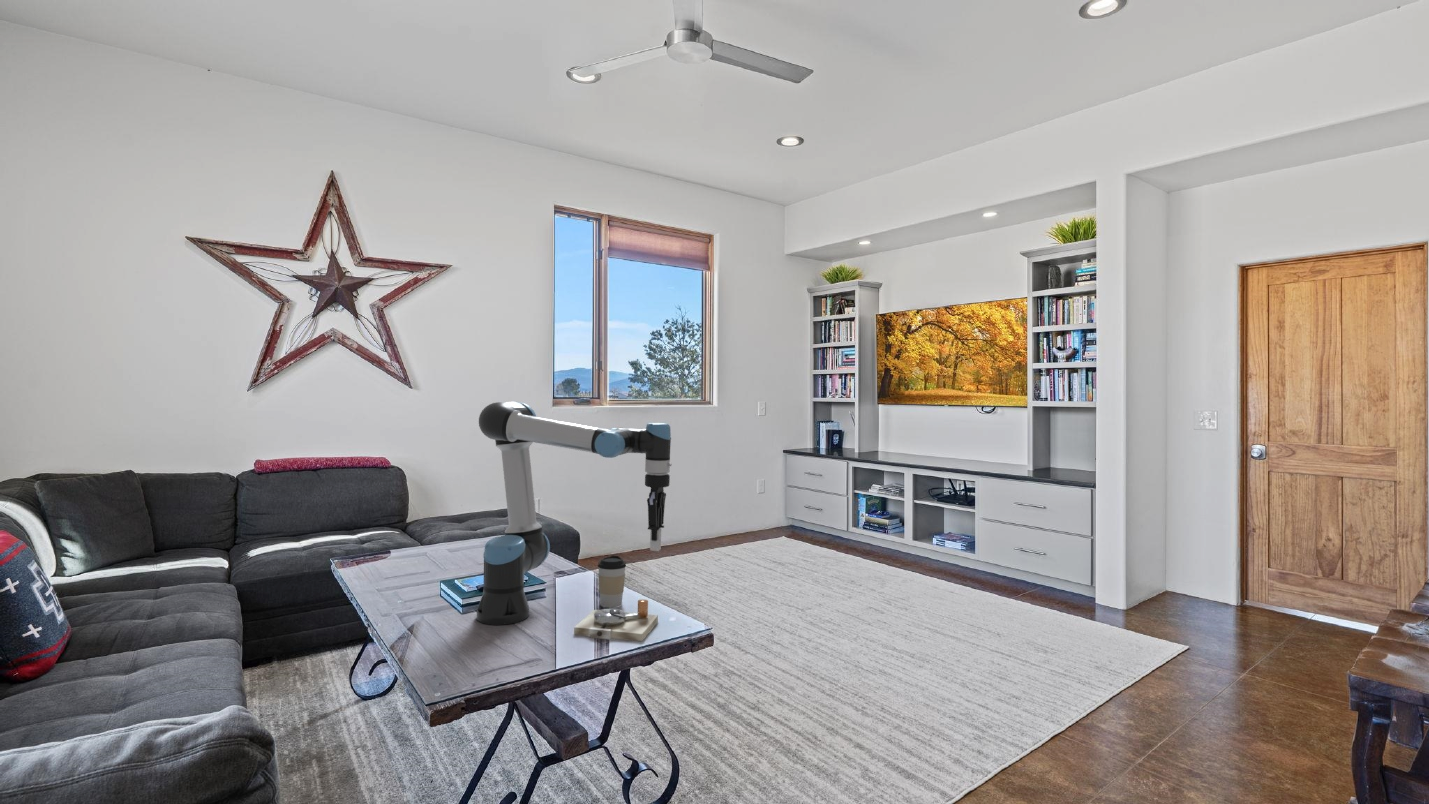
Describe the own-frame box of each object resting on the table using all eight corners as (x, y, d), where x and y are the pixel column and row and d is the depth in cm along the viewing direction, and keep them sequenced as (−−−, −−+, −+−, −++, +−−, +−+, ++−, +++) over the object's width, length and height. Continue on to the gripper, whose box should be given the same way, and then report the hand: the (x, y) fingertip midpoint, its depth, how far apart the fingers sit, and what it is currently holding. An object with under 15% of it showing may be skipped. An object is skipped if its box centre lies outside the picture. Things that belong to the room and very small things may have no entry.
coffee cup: (619, 609, 215) (620, 562, 214) (592, 607, 216) (593, 560, 216) (628, 601, 223) (630, 555, 223) (602, 598, 225) (603, 553, 225)
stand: (571, 636, 191) (571, 628, 191) (594, 615, 208) (594, 608, 208) (639, 643, 187) (640, 635, 187) (657, 622, 205) (657, 614, 205)
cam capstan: (599, 628, 191) (599, 612, 191) (590, 617, 200) (591, 601, 200) (653, 622, 198) (653, 606, 198) (642, 611, 207) (643, 596, 207)
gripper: (663, 476, 202) (661, 556, 202) (674, 471, 215) (672, 545, 216) (638, 475, 203) (636, 554, 203) (652, 470, 217) (650, 544, 217)
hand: (655, 549), depth 210 cm, fingers closed
